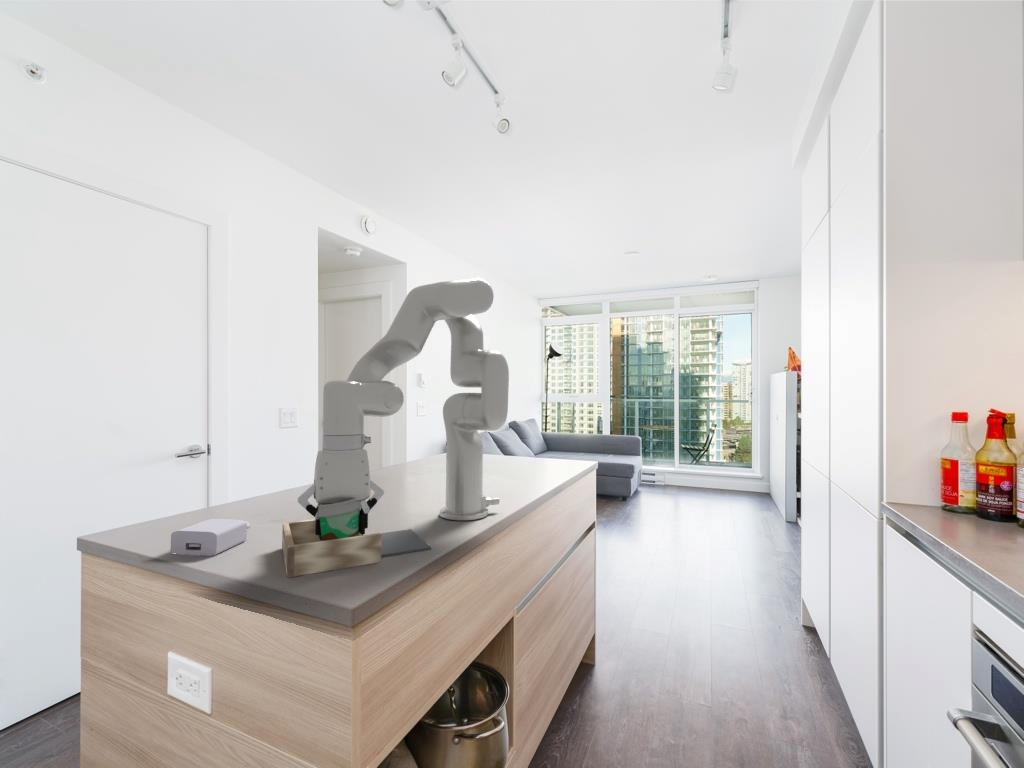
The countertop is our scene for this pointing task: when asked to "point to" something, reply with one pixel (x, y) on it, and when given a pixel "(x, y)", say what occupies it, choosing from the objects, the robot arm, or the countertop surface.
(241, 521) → the charger
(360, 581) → the countertop surface
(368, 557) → the open box
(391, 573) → the countertop surface
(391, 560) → the countertop surface
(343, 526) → the food container
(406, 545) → the mat
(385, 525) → the countertop surface
